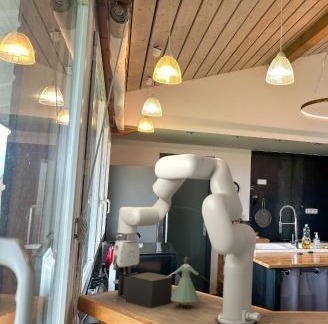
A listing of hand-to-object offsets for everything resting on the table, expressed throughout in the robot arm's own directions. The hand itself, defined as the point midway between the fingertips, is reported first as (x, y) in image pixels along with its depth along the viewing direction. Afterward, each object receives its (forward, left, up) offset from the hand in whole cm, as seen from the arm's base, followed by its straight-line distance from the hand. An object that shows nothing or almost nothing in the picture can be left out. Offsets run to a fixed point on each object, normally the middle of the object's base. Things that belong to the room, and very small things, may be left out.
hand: (124, 283), depth 153 cm
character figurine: (-30, -4, -5) cm, 31 cm away
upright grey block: (-15, 0, -4) cm, 16 cm away
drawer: (-6, 0, -4) cm, 7 cm away
